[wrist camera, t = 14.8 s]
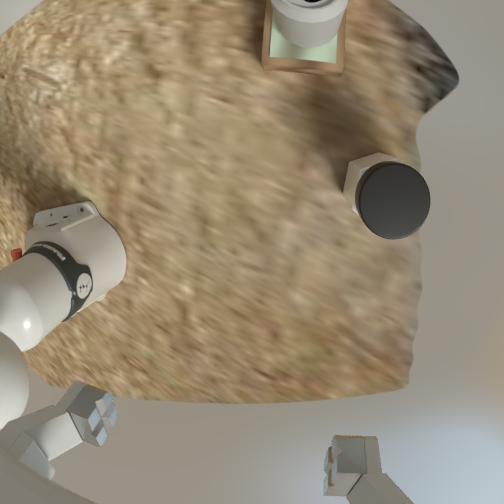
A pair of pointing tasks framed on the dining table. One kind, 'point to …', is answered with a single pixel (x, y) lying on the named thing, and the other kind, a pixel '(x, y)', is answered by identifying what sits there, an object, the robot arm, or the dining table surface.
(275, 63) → the picture frame
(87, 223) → the robot arm
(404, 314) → the dining table surface
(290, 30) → the can
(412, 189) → the jar
